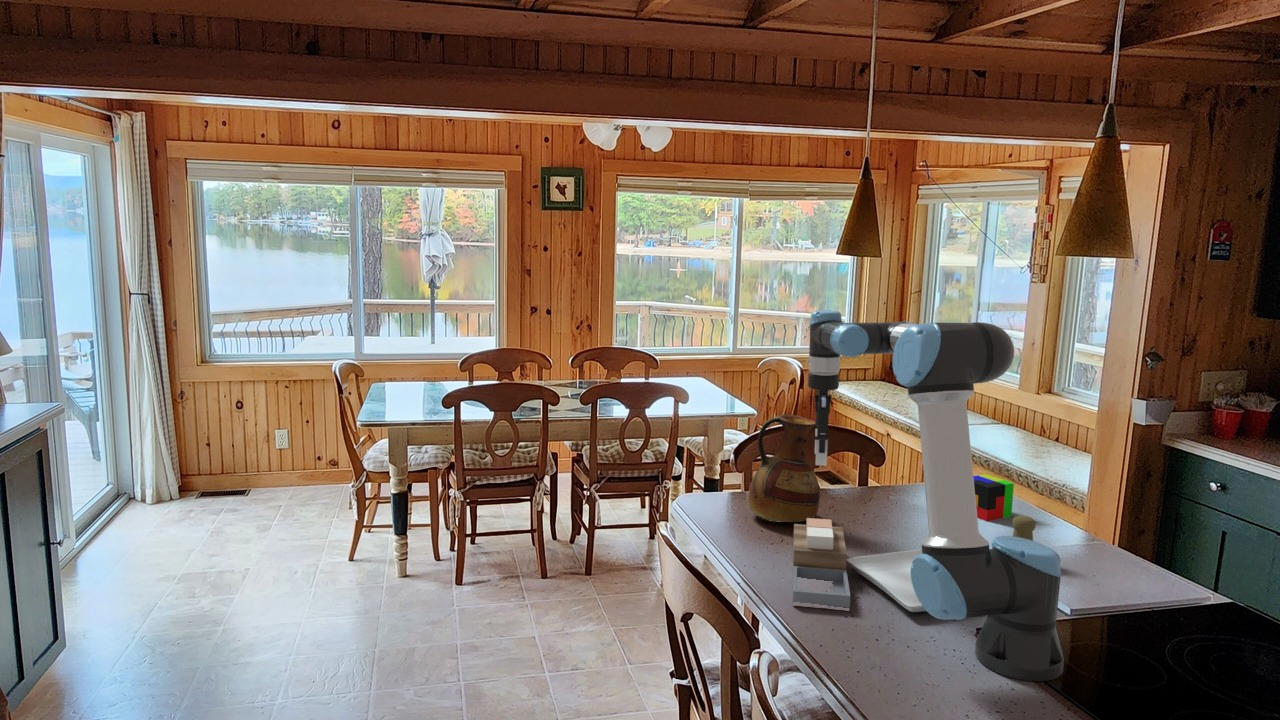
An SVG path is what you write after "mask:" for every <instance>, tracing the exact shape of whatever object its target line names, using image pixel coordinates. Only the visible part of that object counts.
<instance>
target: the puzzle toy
mask: <svg viewBox="0 0 1280 720" xmlns="http://www.w3.org/2000/svg"><path fill="white" fill-rule="evenodd" d="M973 477H974V488H975V498H976V509H977V519H980V520H981V521H984V522H990V521H994V520H996V521H997V520H1000V519H1004V518H1010V517H1012V516H1013V515H1012V513H1013V503H1014V502H1013V501H1014V486H1015V485H1014V482H1011V481H1009V480H1005V479H1002V478H999V477H997V476H996V477H995V476H993V475H990V474H985V473H984V474H979V475H973Z"/></svg>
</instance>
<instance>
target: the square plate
mask: <svg viewBox="0 0 1280 720" xmlns="http://www.w3.org/2000/svg"><path fill="white" fill-rule="evenodd" d="M920 554H922V549H918V550H917V549H915V550H906V551H904V550H903V551H896V552H894V551H893V552H885V553H878V554H870V555H861V556H853V557H847V560H846V563H848V564H849V566H851V568H852V569H853V570H855V571H856V572H857V573H858V574H860V575H861V576H862V577H864V578H865V579H866V580H868V581H870V583H873V585H875V586H876V587H878V588H879V589H880V590H882V591H883V592H884V593H886V594H887V595H888V596H890V597H891V598H892V599H893V600H894V601H896V603H898V604H899V605H900V606H901V607H902V608H904V609H906V610H907V611H908V612H911V613H920V612H927V611H926V610H925V609H924V607H923V606H922V604H921V603H920V601H919V600H918V598H917V596H916V594H915V591H914V588H913V585H912V580H911V565H912V561H913V559H914V558H915V557H917V556H918V555H920Z"/></svg>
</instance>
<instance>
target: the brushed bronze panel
mask: <svg viewBox="0 0 1280 720" xmlns="http://www.w3.org/2000/svg"><path fill="white" fill-rule="evenodd" d="M832 530H833V537H834V538H833V550H829V549H815V548H807V538H806V524H802V523H800V524H799V523H794V524H793V542H792V543H793V544H792V548H793V549H792V563H793V564H792V567H793V566H800V567H813V568H826V569H839V570H846V571H847V561H846V560H847V558H848V557H847V556H848V553H847V547H846V542H845V541H846V540H845V535H844V530H843V526H832Z"/></svg>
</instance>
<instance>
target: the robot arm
mask: <svg viewBox="0 0 1280 720" xmlns="http://www.w3.org/2000/svg"><path fill="white" fill-rule="evenodd" d="M808 346H809V347H808V349H809V353H808V358H807V359H806V360H805V361H806V363H807V364H808V371H809V373H807V375H808V376H807V377H808V378H807V387H808V388H809V389H812V390H816V394H814V409H815V420H814V421H815V423H816V425H815V426H814V427H815V430H814V431H815V433H814V435H815V436H813V439H814V454H815V466H825V467H827V466H828V465H827V464H828V443H829V442H828V440H829V414H830V413H831V403H832V396H831V395H832V394H829V391H835V390H838V388H839V386H840V385H839V384H840V375H839V372H840V371H841V370H840V368H841V356H842V357H847V358H848V357H849V358H856V357H859V356H862V355H877V354H881V355H882V354H884V355H885V354H889V355H892V371H893V374H894V376H895V379H896V381H897V383H898V384H900V385H901V386H902V387H903V386H904V387H905V388H907V395H908V397H909V398H910V400H912V401H913V402H914V403H915V404H916V405H917V412H918V414H917V415H918V423H919V435H920V444H921V445H920V446H921V456H922V457H921V458H922V467H923V468H922V469H923V479H924V480H923V481H924V490H925V491H924V492H925V503H926V515H927V525H928V535H927V536H925V538H924V539H923V540H922V541H921V542H920V543H921V544H920V545H921V550H922V554H920V555H918V556H917V557H915V558H914V559H913V561H912V565H911V580H912V585H913V588H914V591H915V594H916V596H917V598H918V600H919V601H920V603H921V604H922V606H923V607H924V609H925V610H926V611H925V612H927V613H928V614H929V615H931V616H932V617H934V618H936V619H937V620H938V619H939V620H957V621H961V620H964V619H968V618H969V619H970V618H977V617H986V619H985V620H984V622H983V624H982V627H981V629H980V631H979V633H978V635H977V637H976V639H975V646H974V647H975V649H974V653H975V656H976V659H978V661H979V662H980V663H981V664H983V666H984V667H987V668H988V669H989V670H991V671H993V672H995V673H998V674H999V675H1002V676H1005V677H1008V678H1013V679H1016V680H1021V681H1028V682H1029V681H1030V682H1045V681H1052V680H1055V679H1058V678H1059V677H1060V676H1062V675H1063V672H1064V664H1065V657H1064V653H1063V650H1062V647H1061V642H1060V638H1059V635H1058V631H1057V618H1058V606H1059V598H1060V597H1059V596H1060V595H1059V594H1060V585H1061V578H1062V572H1061V564H1062V563H1061V558H1060V555H1059V554H1058V552H1057V551H1055V550H1054V549H1053V548H1051V547H1050V546H1048V545H1045V544H1043V543H1040V542H1037V541H1035V540H1033V541H1032V540H1028V539H1024V538H1019V537H1013V535H998V536H995V537H994V539H992V542H991V546H992V547H991V548H990V542H989V541H988V540H987V539H986V538H984V536H982V535H981V533H980V532H979V531H980V530H979V521H978V519H979V518H977V509H976V498H975V488H974V477H973V476H974V470H973V469H974V468H973V467H974V466H973V458H972V448H971V439H970V427H969V417H968V407H967V406H968V405H967V402H968V400H969V399H970V398H971V397H972V396H973V395H974V393H975V389H974V388H975V386H974V384H983V383H988V382H992V381H994V380H996V379H998V378H1001V377H1002V376H1004V374H1006V372H1007V371H1008V370H1009V369H1010V368H1011V366H1012V363H1013V361H1014V358H1015V347H1014V343H1013V340H1012V338H1011V337H1010V335H1009V334H1008V333H1007V332H1006V331H1005V329H1003V328H1001V327H999V326H997V325H995V324H991V323H989V322H988V323H987V322H977V321H976V322H975V321H974V322H926V323H918V324H917V323H914V322H913V321H900V320H899V321H892V322H891V321H888V322H886V321H885V322H844V321H843V319H842V314H841V312H840V311H837V310H815V311H813V312H811V313H810V321H809V345H808Z"/></svg>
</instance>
